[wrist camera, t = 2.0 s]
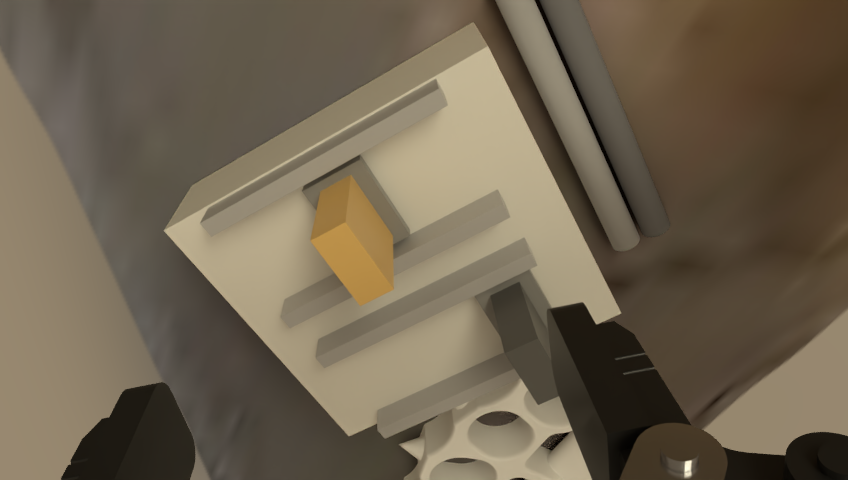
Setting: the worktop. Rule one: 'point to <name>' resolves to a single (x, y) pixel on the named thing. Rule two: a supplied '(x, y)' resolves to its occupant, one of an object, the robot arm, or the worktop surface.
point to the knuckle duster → (498, 441)
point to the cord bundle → (574, 124)
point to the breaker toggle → (356, 228)
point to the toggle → (523, 331)
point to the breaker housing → (412, 257)
